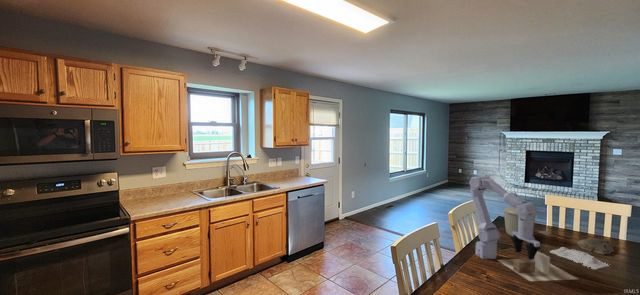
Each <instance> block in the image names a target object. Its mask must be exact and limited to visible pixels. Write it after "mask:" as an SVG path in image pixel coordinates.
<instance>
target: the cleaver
mask: <svg viewBox="0 0 640 295" xmlns="http://www.w3.org/2000/svg"><path fill="white" fill-rule="evenodd" d="M538 233H540V234H543V235H554V236H557V237H561V238H563V239H565V240H571V238H570V237H568V236H565V235H564V236H563V235H561V234H557V233H554V232H550V231H547V230H539V231H538Z"/></svg>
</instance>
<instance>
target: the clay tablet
mask: <svg viewBox="0 0 640 295" xmlns="http://www.w3.org/2000/svg"><path fill="white" fill-rule="evenodd" d="M577 246H578V247H579V248H580V249H582V250H584V249H585V250H584V251H587V250H588V252H593V253H595V252H596V253H595V254H598V255H601V254H602V256H605V254H607V255H610V254H612V253H614V244H612V243H611V242H610V240H607V239H603V238H597V237H587V238H585V239H579V240H577Z"/></svg>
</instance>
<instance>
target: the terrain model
mask: <svg viewBox="0 0 640 295" xmlns="http://www.w3.org/2000/svg"><path fill="white" fill-rule="evenodd" d="M549 253H550V254H553V255H556V256H558V257H560V258H561V257H562V258H565V259H567V260H570V261H572V260H573V261H572V262H574V263H577V264H582V263H583V264H582V266H584V267H586V266H587V268H589V267H591V268H590V269H592V270H598V269H601V268H606V267H610V266H609V265H610V264H609V263H607V262H604V261H602V260H599V259H597V258H595V256H592V255H590V254H589V253H587V252H584V251H580V250H576V249H573V248H572V249H569V248H568V247H564V246H561V247H559V248H558V249H552V250H550V251H549ZM603 262H604V263H603ZM606 263H607V264H606ZM608 264H609V265H608Z"/></svg>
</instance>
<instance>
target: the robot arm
mask: <svg viewBox="0 0 640 295" xmlns="http://www.w3.org/2000/svg"><path fill="white" fill-rule="evenodd" d="M469 185H470V190H469V191H470V196H471V199H472V202H473V206H474V208H475V212H476V215H477V218H478V221H479V225H478V227H477V232H478V233H477V235H478V238H479V241H476V242H475V255H476V256H477V257H479V258H481V259H482V260H484V259H490V260H494V259H497V252H498V251H497V250H498V249H497V248H498V246H497V245H498V240H500V238H501V232H500V231H499V230H498V229H497V226H496V224H494V223H493V222H492V220H491V218H490V214H489V211H488V208H487V205H486V201H485V198H484V195H483V194H484V192H485V191H486V190H487V189H490V190H491V191H492V192H495V193H496V194H498V195H499V196H500V197H502V198H503V200H504V202H505V203H507V204H508V205H509V206H510V207H514V208H515V209H516V211H517V213H518V217H519V219H518V232H516V231H513V232H512V236H513V237H512V236H510V240H511V241H512V242H513V246H514V249H515V252H516V253H522V250H523V249H522V248H523V243H524V241H525V242H527V243H528V244H525V247H526V249H527V257H528V258H527V259H530V260H531V259H534V258H535V254H536V252H537V251H539V249H541V243H540V241H538V240H537V239H535V236H534V228H533V215H534V213H535V212H536V213H537V207H536V205H535V204H534V203H533V202H531V201H527V200H526V199H524V198H522V197H520V196H519V195H518V193H516V192H512V191H511V192H509V191H507V190H506V189H505V188H504V187H502V186H501V185H499V184H498V183H497V182H496V181H495V180H494V179H493V178H491V177H490V176H488V175H483V176H472V177H471V179H470V180H469ZM531 214H532V215H531Z"/></svg>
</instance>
